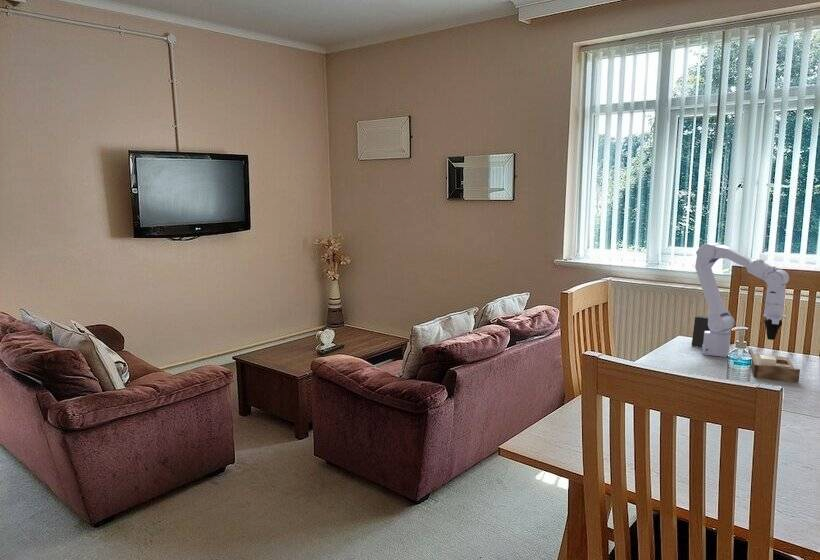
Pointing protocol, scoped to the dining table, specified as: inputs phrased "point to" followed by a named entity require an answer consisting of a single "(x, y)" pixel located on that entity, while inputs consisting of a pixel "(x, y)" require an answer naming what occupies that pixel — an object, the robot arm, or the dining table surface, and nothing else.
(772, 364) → the cream block
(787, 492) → the dining table surface
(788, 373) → the trap board
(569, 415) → the dining table surface
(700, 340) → the phone stand
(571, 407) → the dining table surface
